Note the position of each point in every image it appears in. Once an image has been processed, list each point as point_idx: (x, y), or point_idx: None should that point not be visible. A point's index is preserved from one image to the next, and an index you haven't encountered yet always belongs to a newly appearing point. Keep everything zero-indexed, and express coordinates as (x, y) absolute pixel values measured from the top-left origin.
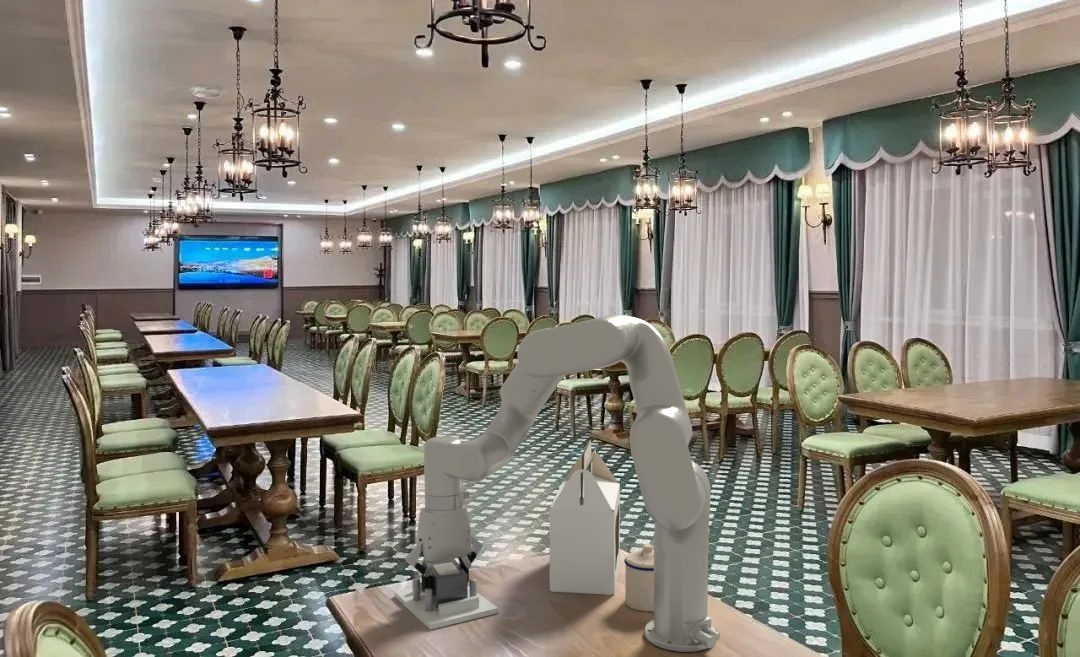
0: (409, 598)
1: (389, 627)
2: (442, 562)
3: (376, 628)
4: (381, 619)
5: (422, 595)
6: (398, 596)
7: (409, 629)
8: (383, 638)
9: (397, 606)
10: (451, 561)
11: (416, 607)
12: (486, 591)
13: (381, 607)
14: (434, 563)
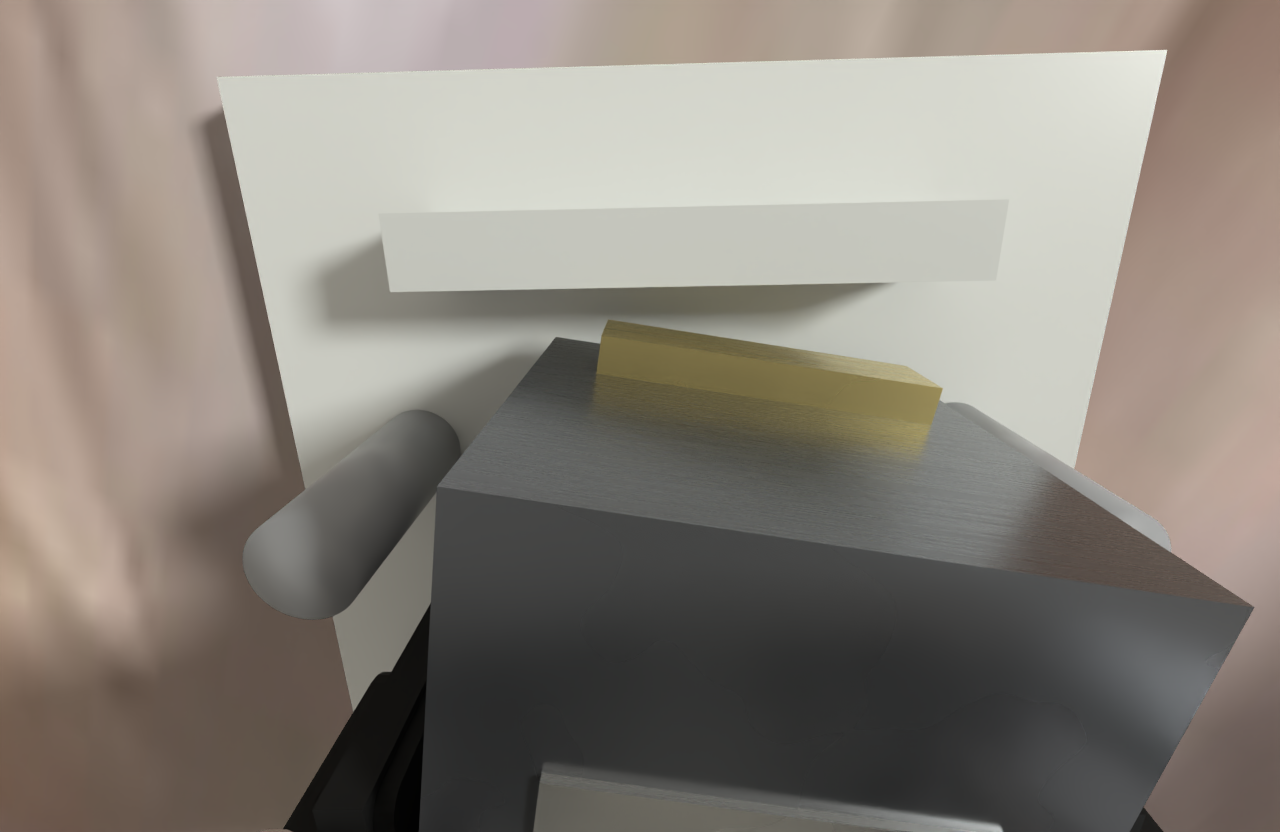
0: (353, 384)
1: (132, 712)
2: (834, 717)
3: (30, 683)
4: (75, 561)
5: (511, 377)
6: (258, 222)
7: (274, 798)
8: (78, 828)
9: (249, 373)
10: (1047, 764)
11: (371, 613)
12: (1190, 476)
13: (86, 314)
14: (632, 693)
